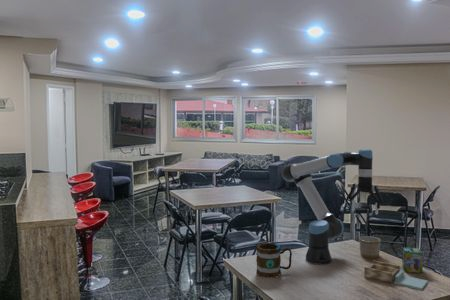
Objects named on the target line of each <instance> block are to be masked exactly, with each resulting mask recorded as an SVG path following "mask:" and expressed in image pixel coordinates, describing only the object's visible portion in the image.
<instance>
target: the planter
mask: <svg viewBox="0 0 450 300" xmlns="http://www.w3.org/2000/svg"><path fill="white" fill-rule="evenodd" d="M358 240H359V253H360V255H361V257H364V258H369V259H375V258H378V257H379V256H380V252H381V251H380V250H381V238H379V237H375V236H370V235H369V236H367V235H365V236H360V237H359V239H358Z"/></svg>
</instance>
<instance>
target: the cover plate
mask: <svg viewBox="0 0 450 300" xmlns="http://www.w3.org/2000/svg"><path fill="white" fill-rule="evenodd" d="M404 273H405V271H404V270H402V269H401V270H400V272H399V273H398V274H397V275H396V276H395V281H394V282H393V285H398V286H402V287H405V288H411V289H415V290H419V291H423V289H424V288H425V287H426V285H427V284H428V282H429V281H428V280H426V279H421V278H417V277H413V276H409V275H404Z"/></svg>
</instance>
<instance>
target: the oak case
mask: <svg viewBox="0 0 450 300" xmlns="http://www.w3.org/2000/svg"><path fill="white" fill-rule="evenodd" d="M400 267H401V266H400V265H399V264H398V265H397V264H394V263H393V264H392V263H389V262H384V261H380V260H379V261H378V260H375V259H373V260H372V263H371V264H370V265H368V266H367V267H366V266H364V273H363V275H364V278H366V279H371V280H373V281H374V280H375V281H379V282H383V283H386V284H394V281H395V276H396V275H397V274H398V273H399V272H400V271H401V270H400Z"/></svg>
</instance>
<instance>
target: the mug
mask: <svg viewBox="0 0 450 300" xmlns="http://www.w3.org/2000/svg"><path fill="white" fill-rule="evenodd" d="M281 248H282V246H281V245H279V244H277V243H271V242H265V243H264V242H263V243H259V244H257V245H256V275H258V276H259V277H261V278H267V277H269V278H268V279H271V278H270V277H272V278H277V277H276V276H278V277H279V276H280V275H281V274H282V273H281V269H282V270H290V269H291V267H292V255H293V253H292V249H291V248H288V247H286V248H284V249H282V250H281ZM286 251H289V258H288V266H283V265H281V262H282V259H281V255H282V254H284V253H285V252H286ZM279 274H280V275H279Z"/></svg>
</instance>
